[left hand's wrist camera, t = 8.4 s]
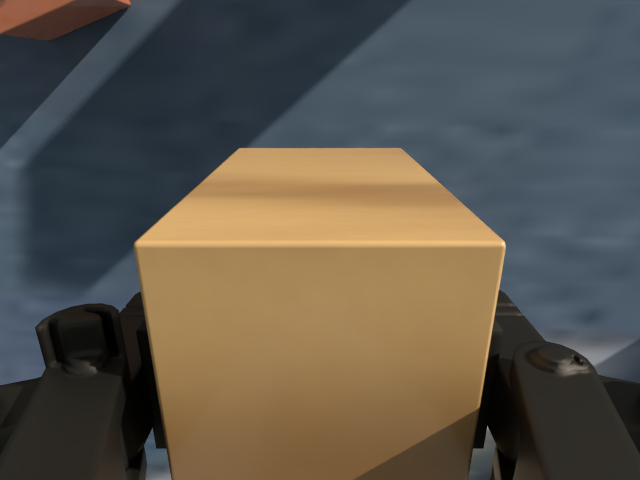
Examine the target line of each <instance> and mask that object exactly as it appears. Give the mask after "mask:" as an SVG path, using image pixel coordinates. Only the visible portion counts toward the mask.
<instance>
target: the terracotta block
mask: <svg viewBox="0 0 640 480" xmlns="http://www.w3.org/2000/svg"><path fill="white" fill-rule="evenodd" d="M129 6H131V4H130V1H129V0H0V35H8V36H16V37H24V38H31V39H39V40H47V41H51V40H53V39H55V38H58V37H60V36H62V35H64V34H67V33H69V32H71V31H74V30H76V29H78V28H81V27H83V26H85V25H88V24H90V23H92V22H94V21H97V20H99V19H101V18H104V17H106V16H108V15H111V14H113V13H115V12H118V11H120V10H122V9H124V8H127V7H129Z"/></svg>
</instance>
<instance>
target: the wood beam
mask: <svg viewBox="0 0 640 480" xmlns="http://www.w3.org/2000/svg"><path fill="white" fill-rule="evenodd" d="M505 249H506V245H505V242H504V241H503V240H502V239H501V238H500V237H499V236H498V235H497V234H495V233H494V232H493V231H492V230H491V229H490V228H489V227H488V226H487V225H485V224H484V223H483V222H482V221H481V220H480V219H479V218H478V217H477V216H475V215H474V214H473V213H472V212H471V211H470V210H469V209H468V208H467V207H465V206H464V205H463V204H462V203H461V202H460V201H459V200H458V199H457V198H456V197H454V196H453V195H452V194H451V193H450V192H449V191H448V190H447V189H446V188H444V187H443V186H442V185H441V184H440V183H439V182H438V181H437V180H436V179H434V178H433V177H432V176H431V175H430V174H429V173H428V172H427V171H426V170H424V169H423V168H422V167H421V166H420V165H419V164H418V163H417V162H416V161H414V160H413V159H412V158H411V157H410V156H409V155H408V154H407V153H406V152H404V151H403V150H402V149H401V148H239V149H238V150H236V151H235V152H234V153H233V154H232V155H231V156H230V157H229V158H228V159H226V160H225V161H224V162H223V163H222V164H221V165H220V166H219V167H217V168H216V169H215V170H214V171H213V172H212V173H211V174H210V175H209V176H207V177H206V178H205V179H204V180H203V181H202V182H201V183H200V184H199V185H197V186H196V187H195V188H194V189H193V190H192V191H191V192H190V193H189V194H187V195H186V196H185V197H184V198H183V199H182V200H181V201H180V202H178V203H177V204H176V205H175V206H174V207H173V208H172V209H171V210H170V211H168V212H167V213H166V214H165V215H164V216H163V217H162V218H161V219H160V220H158V221H157V222H156V223H155V224H154V225H153V226H152V227H151V228H150V229H148V230H147V231H146V232H145V233H144V234H143V235H142V236H141V237H139V238H138V239H137V240H136V241H135V243H134V253H135V259H136V265H137V271H138V277H139V283H140V289H141V295H142V301H143V308H144V314H145V320H146V326H147V332H148V338H149V344H150V350H151V356H152V363H153V369H154V375H155V381H156V387H157V393H158V399H159V405H160V411H161V418H162V424H163V430H164V436H165V442H166V448H167V454H168V460H169V466H170V473H171V479H172V480H468V476H469V470H470V463H471V457H472V451H473V445H474V439H475V433H476V427H477V420H478V414H479V408H480V402H481V396H482V390H483V384H484V378H485V371H486V365H487V359H488V353H489V347H490V341H491V335H492V328H493V322H494V316H495V310H496V304H497V298H498V292H499V285H500V279H501V273H502V267H503V261H504V255H505Z"/></svg>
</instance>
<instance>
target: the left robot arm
mask: <svg viewBox="0 0 640 480" xmlns="http://www.w3.org/2000/svg"><path fill="white" fill-rule="evenodd" d="M35 329H36V333H37V336H38V340H39V344H40V347H41V351H42V355H43V359H44V362H45V366H46V369H45V371H44V373H43V375H42V377H39V378H35V379H31V380H26V381H20V382H15V383H10V384H5V385H0V480H145V477H146V469H147V461H146V454H145V449H144V444H145V442H146V440H147V438H148V436H149V434H150V431H151V429H152V427H153V432H154V437H155V443H156V448H166V442H165V436H164V430H163V424H162V418H161V411H160V405H159V399H158V393H157V387H156V381H155V375H154V369H153V363H152V356H151V350H150V344H149V338H148V332H147V326H146V320H145V314H144V308H143V301H142V295H141V291H140V292H139V293H137V294H135V295H134V297H133V298H132V299H131V300H130V301H129V303H128V304H127V305H126V308H124V309H123V310H122V311H121V312H120V313H119V310H117V309H116V308H115V307H113V306H111V305H106V304H101V303H100V304H84V305H78V306H73V307H70V308H67V309H64V310H61V311H58V312H56V313H54V314H52V315H50V316H48V317H47V318H45V319H43V320H42V321H41V322H40V323H39V324H38V325H37V326H36V327H35ZM487 426H488V428H489V430H490V432H491V434H492V436H493V438H494V440H495V442H496V449H495V454H494V459H493V465H492V470H491V475H490V480H640V383H635V382H630V381H625V380H620V379H614V378H609V377H605V376H601V375H598V374H597V372H596V370H595V368H594V367H593V365H592V364H591V363H590V362H589V361H588V360H587V358H585V357H584V356H582V355H581V354H579V353H578V352H576V351H575V350H572V349H570V348H567V347H565V346H562V345H560V344H555V343H551V342H547V341H545V340H544V339H543V338H542V336H541V335H540V334H539V333H538V332H537V331H536V329H535V328H534V327H533V326H532V325H531V323H530V322H529V321H528V320H527V319H526V318H525V316H522V313H521V312H520V310H519V309H518V308H517V307H516V306H514V303H513V302H512V301H511V300H510V299H509V298H508V296H507V295H506V294H505V293H504V292H502V291H500V290H499V292H498V298H497V304H496V310H495V316H494V322H493V328H492V335H491V341H490V347H489V353H488V359H487V365H486V371H485V378H484V384H483V390H482V396H481V402H480V408H479V414H478V420H477V427H476V433H475V439H474V445H473V448H483V447H484V441H485V436H486V430H487Z"/></svg>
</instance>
